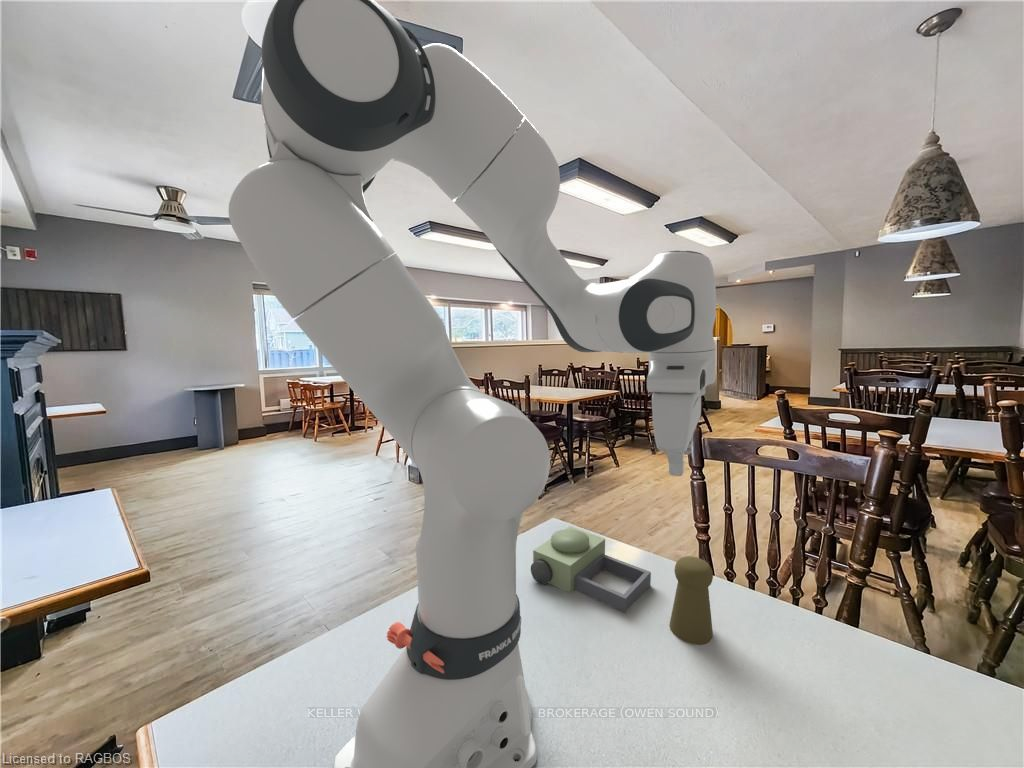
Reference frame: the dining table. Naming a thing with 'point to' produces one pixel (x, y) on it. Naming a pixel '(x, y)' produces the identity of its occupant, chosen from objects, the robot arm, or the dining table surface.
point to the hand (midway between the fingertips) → (681, 463)
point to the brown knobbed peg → (692, 601)
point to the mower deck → (586, 568)
